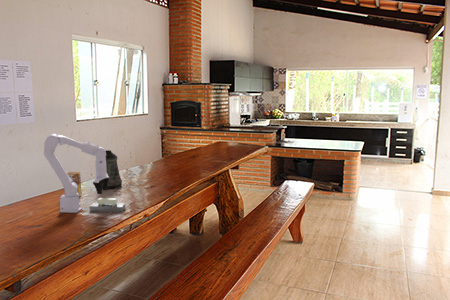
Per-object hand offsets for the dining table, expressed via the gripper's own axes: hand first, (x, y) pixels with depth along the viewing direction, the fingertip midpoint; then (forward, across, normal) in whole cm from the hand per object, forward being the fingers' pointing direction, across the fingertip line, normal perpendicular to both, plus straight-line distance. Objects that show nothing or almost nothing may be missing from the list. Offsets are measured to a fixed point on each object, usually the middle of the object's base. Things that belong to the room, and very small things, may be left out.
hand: (102, 192), depth 227 cm
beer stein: (+10, +45, +12) cm, 48 cm away
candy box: (+10, +22, +27) cm, 36 cm away
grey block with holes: (+9, -3, -4) cm, 11 cm away
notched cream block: (+9, -3, -4) cm, 11 cm away
